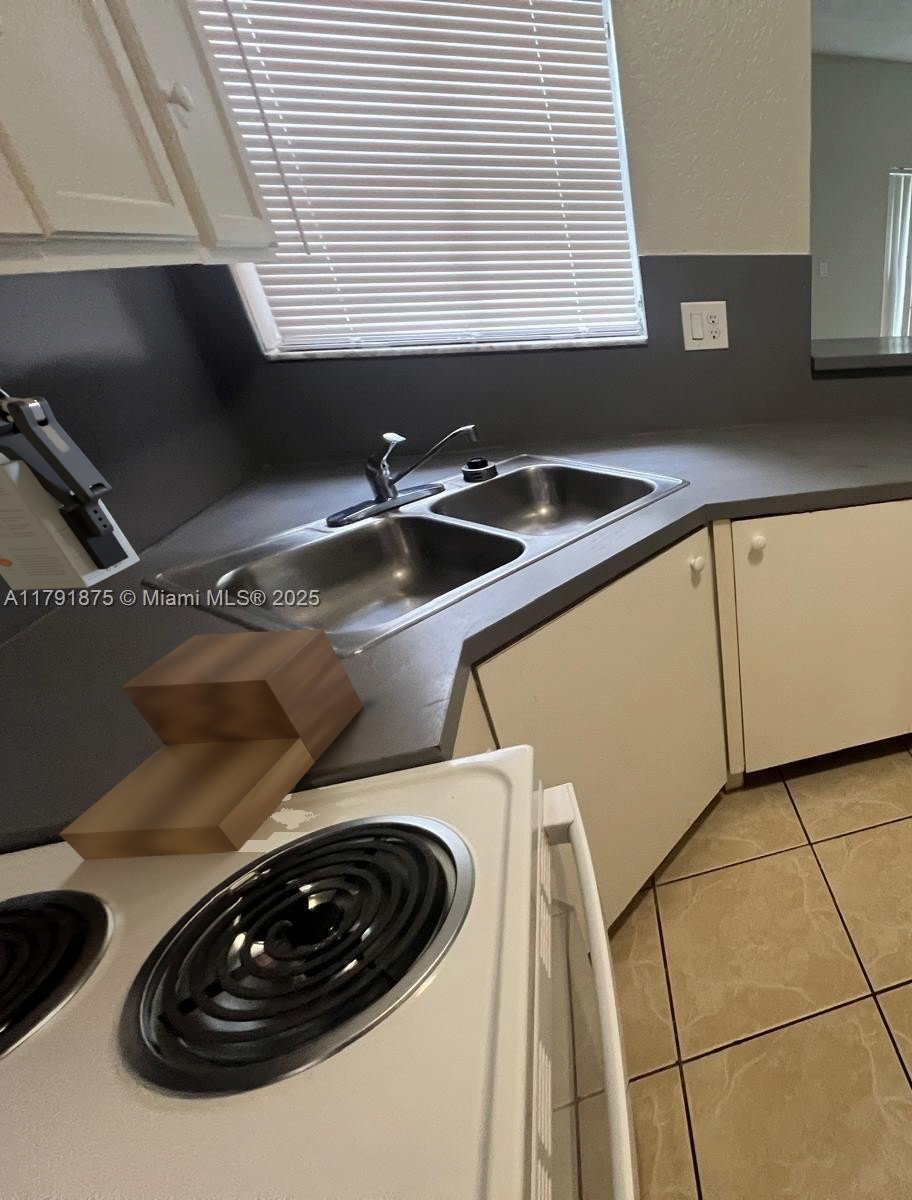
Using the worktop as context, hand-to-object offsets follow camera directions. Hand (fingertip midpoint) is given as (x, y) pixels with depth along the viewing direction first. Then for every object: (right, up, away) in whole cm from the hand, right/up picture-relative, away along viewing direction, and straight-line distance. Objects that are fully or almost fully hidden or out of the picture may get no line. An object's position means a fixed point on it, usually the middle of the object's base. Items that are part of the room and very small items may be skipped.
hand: (72, 564), depth 67 cm
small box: (0, -1, +1) cm, 1 cm away
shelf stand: (+19, -22, -1) cm, 29 cm away
